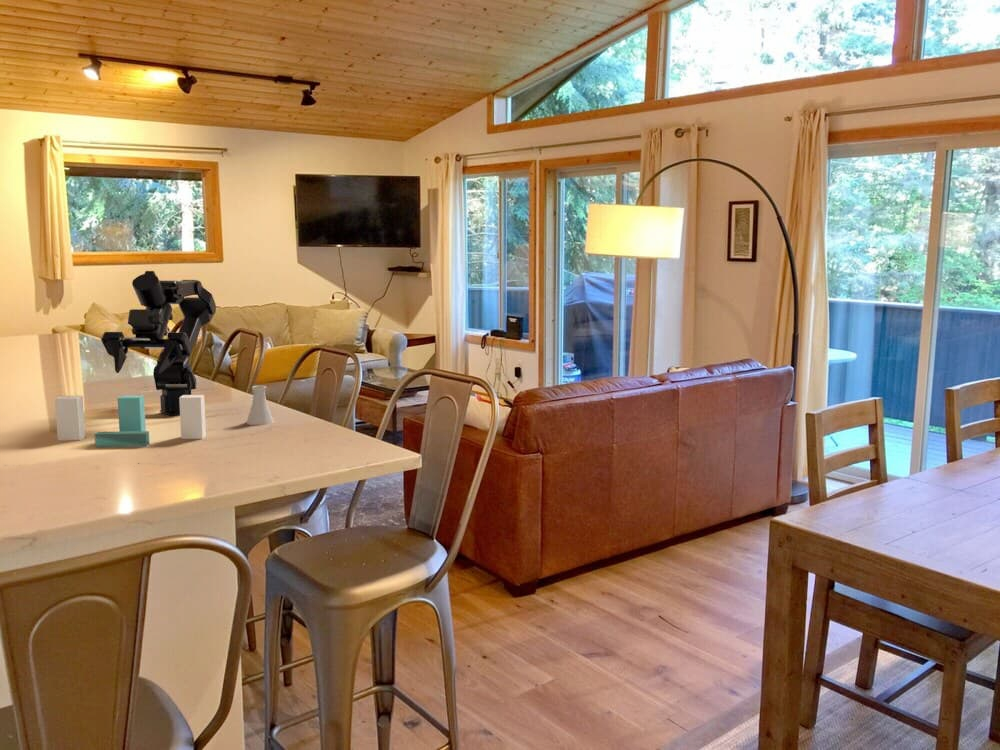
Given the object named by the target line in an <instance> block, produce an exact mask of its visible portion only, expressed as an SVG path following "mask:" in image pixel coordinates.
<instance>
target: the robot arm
mask: <svg viewBox="0 0 1000 750" xmlns="http://www.w3.org/2000/svg"><path fill="white" fill-rule="evenodd" d="M131 285H132V287H133V289H134V292H135V295H136V297H137V299H138V302H139V303H140V305H141V306H143V307H145V309H144V308H143V309H137V308H136V309H132V308H131V309H129V312H128V317H127V324H128V325H130V326H131V328H132V329H131V333H132V335H135V336H134V337H129V336H128V337H126V336H125V334H124V333H123V331H104V333H103V334H102V336H101V338H100V341H101V342H102V344H103V347H104V348H105V351H106V352H107V354H108V355H109V356H111V357H112V358H113V361H114V370H115V373H116V374H119V373H120V372H121V371H122V368H123V366H124V363H125V362H126V359H127V358H128V357H127V354H128V353H129V348H140V349H144V350H145V349H149V350H150V349H151V350H152V349H153V350H156V349H158V350H162V349H163V350H162V351H161V353H160V354H159V356H158V359H157V360H156V365H155V366H154V368H153V379H154V385H155V389H156V391H160V390H161V395H160V397H159V398H160V401H159V402H160V410H159V412H160V413H162V414H165V415H168V416H180V403H179V397H181V396H182V395H192V390H196V389H197V377H196V375H195V373H194V371H193V368H192V366H191V363H190V358H191V355H192V353H193V351H194V347H195V345H196V343H197V339H198V337H199V335H200V332H201V329H202V327H204V326H206V325H208V324H209V323H210V322H211V321H212V319H213V317H214V315H215V314H216V311H217V306H216V302H215V298H214V296H213V294H212V293H211V292H209V291H208V290H207V289H206V288H205V287H204V286H203V284H202V282H201V281H200V280H198V279H182V280H161V279H159V276H157V275H156V272H155V271H154V270H145V272H144V273H142V274H139V275H138V276H136V277H135V278H134V279H133V280H132V283H131ZM192 296H194V297H192ZM195 296H197V297H195ZM172 305H178V306H179V309H180V311H181V313H182V316H183V320H182V322H181V325H180V327H179V330H178V332H176V331H173V332H168V330H167V328H168V324H169V321H173V319H174V317H173V313H172V312H173V307H172ZM165 336H167V338H164V337H165Z"/></svg>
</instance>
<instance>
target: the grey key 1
mask: <svg viewBox="0 0 1000 750" xmlns="http://www.w3.org/2000/svg"><path fill="white" fill-rule="evenodd" d="M83 397H84V395H60V396H57V397H55V398H54V407H55V418H56V433H57V434H56V436H57V441H62V442H63V441H81V440H83V439H84V438H86V429H85V428H86V427H85V413H84V398H83Z"/></svg>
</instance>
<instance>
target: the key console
mask: <svg viewBox="0 0 1000 750" xmlns="http://www.w3.org/2000/svg"><path fill="white" fill-rule="evenodd" d="M94 442H95V443H94V446H95V448H131V447H133V448H134V447H141V448H142V447H145V448H146V447H148V446H150V431H147V430H146V431H126V432H120V431H97V432H96V433H94Z"/></svg>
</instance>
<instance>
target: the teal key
mask: <svg viewBox="0 0 1000 750" xmlns="http://www.w3.org/2000/svg"><path fill="white" fill-rule="evenodd" d="M145 407H146V406H145V395H144V394H140V395H135V394H134V395H131V394H130V395H125V394H124V395H121V396H119V397H117V411H118V415H117V416H118V427H119V431H118V432H126V431H147V429H146V428H147V426H146V409H145Z"/></svg>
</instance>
